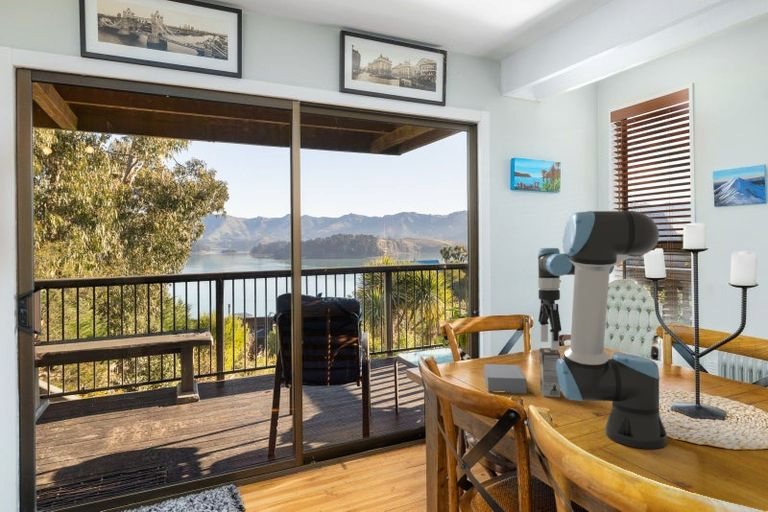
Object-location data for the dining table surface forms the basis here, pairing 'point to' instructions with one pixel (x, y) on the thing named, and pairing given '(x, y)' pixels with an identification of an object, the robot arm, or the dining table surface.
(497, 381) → the grey flat block
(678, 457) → the dining table surface
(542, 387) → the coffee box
